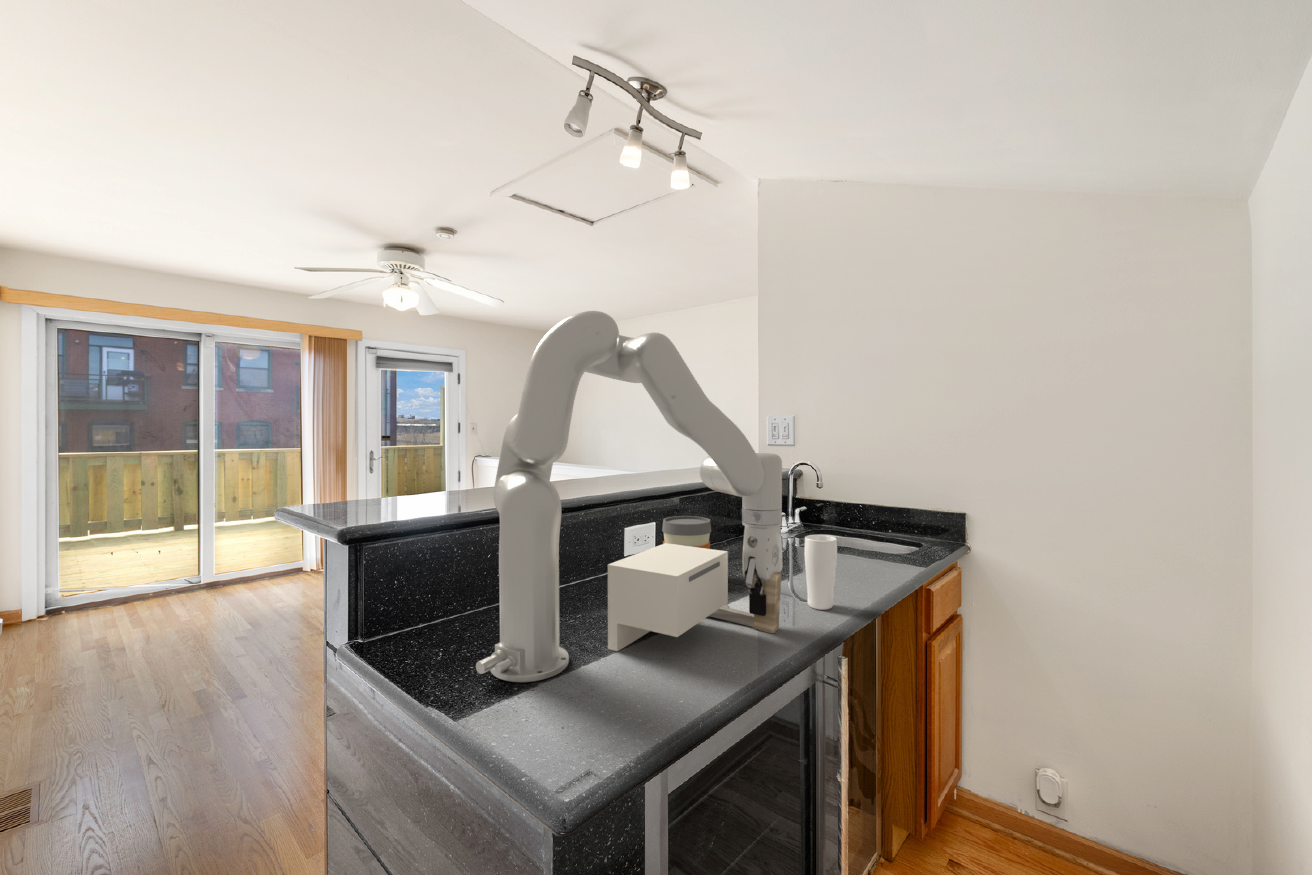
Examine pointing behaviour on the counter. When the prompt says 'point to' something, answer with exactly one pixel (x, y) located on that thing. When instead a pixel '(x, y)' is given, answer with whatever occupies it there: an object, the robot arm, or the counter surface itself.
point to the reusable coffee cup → (687, 531)
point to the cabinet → (664, 591)
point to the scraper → (757, 621)
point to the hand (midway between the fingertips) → (761, 610)
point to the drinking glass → (820, 570)
